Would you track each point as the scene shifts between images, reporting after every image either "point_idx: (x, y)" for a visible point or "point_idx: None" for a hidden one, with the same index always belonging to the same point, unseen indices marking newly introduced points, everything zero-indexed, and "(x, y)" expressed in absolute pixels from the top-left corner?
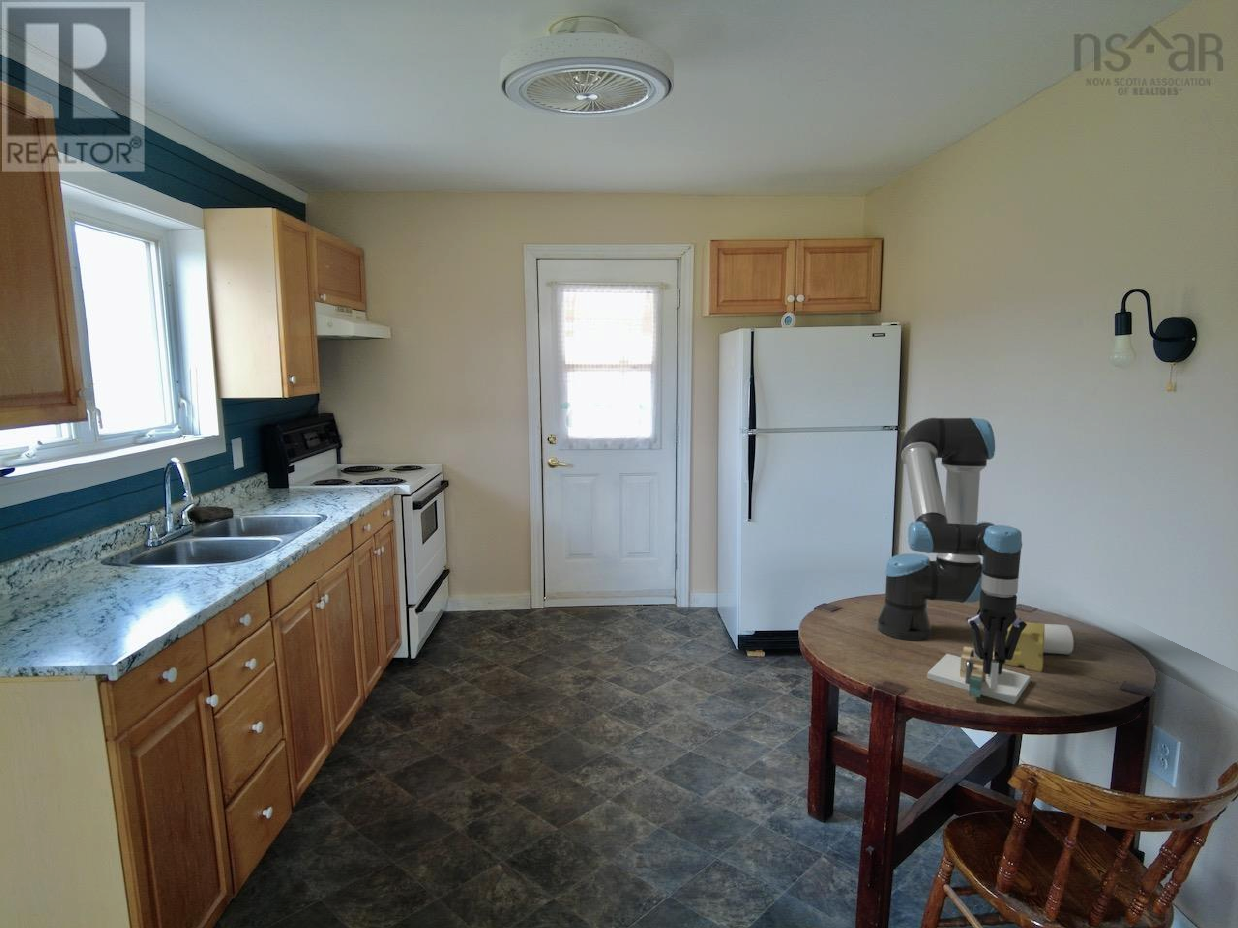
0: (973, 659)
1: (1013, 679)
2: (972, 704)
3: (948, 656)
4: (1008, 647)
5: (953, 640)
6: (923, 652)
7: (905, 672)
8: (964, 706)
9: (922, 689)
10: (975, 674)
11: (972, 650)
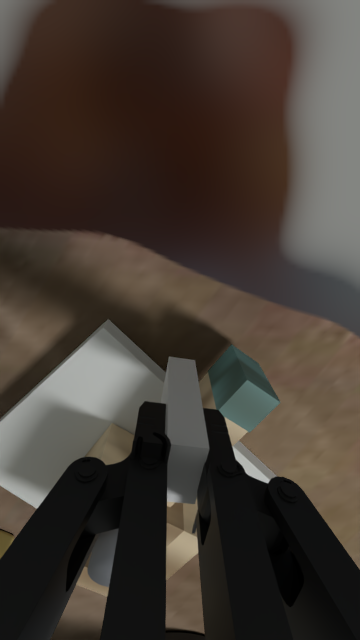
0: (167, 528)
1: (31, 444)
2: (253, 330)
3: None
4: (60, 578)
5: (74, 628)
6: (192, 587)
7: (316, 508)
8: (290, 321)
9: (342, 426)
10: None
11: None
